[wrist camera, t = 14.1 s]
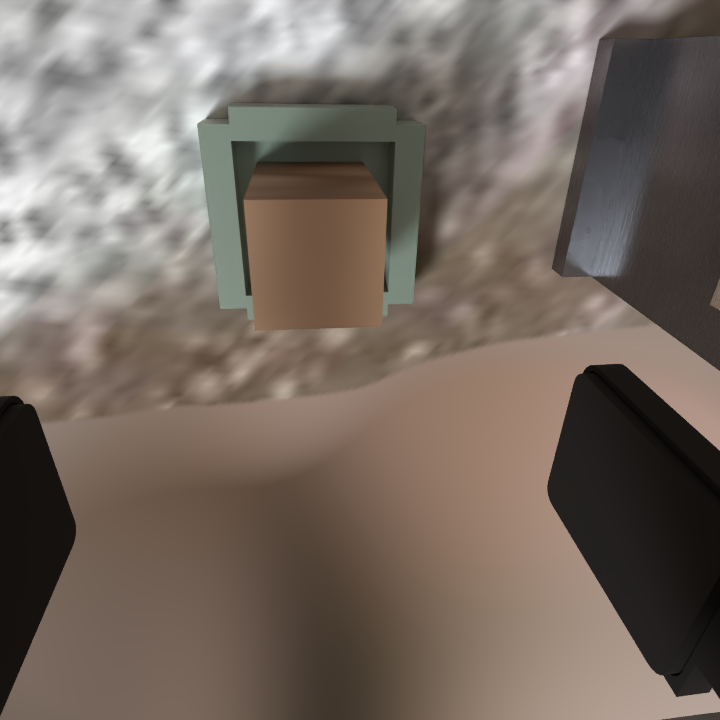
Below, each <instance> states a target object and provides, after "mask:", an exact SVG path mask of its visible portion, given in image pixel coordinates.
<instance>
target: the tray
mask: <svg viewBox="0 0 720 720" xmlns="http://www.w3.org/2000/svg"><path fill="white" fill-rule="evenodd" d="M228 117H229V119H204V120H202V121H201V122H199V123H198V124H197V127H198V135H199V143H200V151H201V159H202V167H203V175H204V183H205V191H206V199H207V207H208V215H209V223H210V231H211V239H212V247H213V255H214V263H215V271H216V279H217V287H218V295H219V303H220V309H233V308H247V313H248V320H254V312H253V301H252V290H251V279H250V268H249V257H248V245H247V234H246V223H245V212H244V201H243V200H244V197H245V194H246V191H247V189H248V186H249V183H250V180H251V178H252V175H253V172H254V169H255V167H256V164H257V162H363V163H364V164H365V166H366V167H367V169H368V170H369V172H370V173H371V175H372V176H373V178H374V179H375V181H376V182H377V184H378V185H379V187H380V188H381V190H382V191H383V193H384V194H385V196H386V197H387V223H386V246H385V269H384V292H383V315H382V316H387V310H388V304H413V296H414V282H415V268H416V255H417V241H418V228H419V214H420V200H421V187H422V173H423V160H424V146H425V132H426V125H424V124H422V123H420V122H418V121H401V120H397V108H394V107H392V106H390V105H355V104H270V103H232V104H231V105H230V106H228Z"/></svg>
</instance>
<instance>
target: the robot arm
mask: <svg viewBox="0 0 720 720" xmlns="http://www.w3.org/2000/svg"><path fill="white" fill-rule="evenodd" d="M547 487H548V496H549V499H550V502H551V504H552V506H553V507H554V509H555V510H556V512H557V514H558V515H559V517H560V519H561V520H562V522H563V524H564V525H565V527H566V529H567V530H568V532H569V533H570V535H571V537H572V539H573V540H574V542H575V543H576V545H577V547H578V549H579V550H580V552H581V554H582V555H583V557H584V558H585V560H586V562H587V563H588V565H589V567H590V568H591V570H592V572H593V573H594V575H595V577H596V578H597V580H598V582H599V583H600V585H601V587H602V588H603V590H604V592H605V593H606V595H607V597H608V598H609V600H610V602H611V603H612V605H613V607H614V608H615V610H616V611H617V613H618V615H619V616H620V618H621V620H622V621H623V623H624V625H625V626H626V628H627V630H628V631H629V633H630V635H631V636H632V638H633V640H634V641H635V643H636V645H637V646H638V648H639V650H640V651H641V653H642V654H643V656H644V658H645V660H646V661H647V663H648V664H649V666H650V667H651V668H652V670H654V671H655V672H656V673H657V674H659V675H663V676H664V677H665V679H666V681H667V682H668V684H669V685H670V687H671V688H672V690H673V692H674V694H675V695H676V697H679V696H686V695H693V694H701V693H708V692H710V690H711V688H713V690H714V691H715V692H716V694H717V695H718V697H719V698H720V451H719V450H718V449H717V448H716V447H715V446H713V444H711V443H710V442H709V441H708V440H707V439H706V438H705V437H704V436H703V435H701V434H700V433H699V432H698V431H697V430H696V429H695V428H694V427H693V426H691V425H690V424H689V423H688V422H687V421H686V420H685V419H684V418H683V417H681V416H680V415H679V414H678V413H677V412H676V411H675V410H674V409H673V408H671V407H670V406H669V405H668V404H667V403H666V402H665V401H664V400H663V399H661V398H660V397H659V396H658V395H657V394H656V393H655V392H653V390H651V389H650V388H649V387H648V386H647V385H646V384H645V383H644V382H643V381H641V380H640V379H639V378H638V377H637V376H636V375H635V374H634V373H632V372H631V371H630V370H629V369H628V368H627V367H626V366H624V365H622V364H607V365H590V366H588V367H587V368H586V369H585V370H584V372H583V374H579V375H578V376H577V377H576V378H575V381H574V385H573V388H572V392H571V396H570V400H569V404H568V407H567V411H566V415H565V419H564V423H563V427H562V431H561V434H560V438H559V442H558V446H557V450H556V453H555V457H554V461H553V465H552V469H551V473H550V476H549V480H548V486H547ZM75 536H76V525H75V520H74V518H73V514H72V512H71V509H70V506H69V503H68V501H67V497H66V495H65V492H64V489H63V486H62V483H61V480H60V478H59V475H58V472H57V469H56V467H55V463H54V461H53V458H52V455H51V452H50V450H49V446H48V444H47V441H46V438H45V435H44V432H43V429H42V426H41V424H40V421H39V418H38V415H37V412H36V410H35V408H34V407H33V406H32V405H30V404H24V403H23V401H22V400H21V399H20V398H19V397H17V396H1V397H0V715H1V713H2V711H3V708H4V706H5V703H6V701H7V699H8V696H9V694H10V692H11V689H12V687H13V685H14V682H15V680H16V678H17V675H18V673H19V671H20V668H21V666H22V664H23V661H24V659H25V657H26V654H27V652H28V650H29V647H30V645H31V643H32V640H33V638H34V636H35V633H36V631H37V629H38V626H39V624H40V622H41V619H42V617H43V614H44V612H45V610H46V607H47V605H48V603H49V600H50V598H51V596H52V593H53V591H54V589H55V586H56V584H57V582H58V579H59V577H60V575H61V572H62V570H63V568H64V565H65V563H66V560H67V558H68V556H69V554H70V551H71V549H72V546H73V544H74V541H75ZM663 720H720V712H717V713H708V714H701V715H693V716H685V717H678V718H671V719H663Z"/></svg>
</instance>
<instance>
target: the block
mask: <svg viewBox="0 0 720 720" xmlns="http://www.w3.org/2000/svg"><path fill="white" fill-rule="evenodd" d="M243 201H244V212H245V223H246V234H247V245H248V257H249V268H250V279H251V290H252V301H253V312H254V323H255V331H256V330H288V329H320V328H352V327H382V315H383V292H384V269H385V246H386V223H387V197H386V196H385V194H384V193H383V191H382V190H381V188H380V187H379V185H378V184H377V182H376V181H375V179H374V178H373V176H372V175H371V173H370V172H369V170H368V169H367V167H366V166H365V164H364V163H363V162H257V164H256V167H255V169H254V172H253V175H252V178H251V180H250V183H249V186H248V189H247V191H246V194H245V197H244V200H243Z"/></svg>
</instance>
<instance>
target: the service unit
mask: <svg viewBox="0 0 720 720" xmlns="http://www.w3.org/2000/svg"><path fill="white" fill-rule="evenodd" d="M552 269H553V270H554V271H555V272H557V273H558V274H559V275H560V276H562V277H584V276H591V277H593V278H594V279H595V280H597V281H598V282H600V283H601V284H602V285H604V286H605V287H606V288H608V289H609V290H610V291H612V292H613V293H614V294H616V295H617V296H619V297H620V298H621V299H623V300H624V301H625V302H627V303H628V304H629V305H631V306H632V307H634V308H635V309H636V310H638V311H639V312H640V313H642V314H643V315H644V316H646V317H647V318H649V319H650V320H651V321H653V322H654V323H655V324H657V325H658V326H659V327H661V328H662V329H663V330H665V331H666V332H668V333H669V334H670V335H672V336H673V337H674V338H676V339H677V340H679V341H680V342H681V343H683V344H684V345H685V346H687V347H688V348H689V349H691V350H692V351H693V352H695V353H696V354H697V355H699V356H700V357H702V358H703V359H704V360H706V361H707V362H709V363H710V364H711V365H712V366H714V367H715V368H717V369H718V370H719V371H720V36H704V37H686V38H667V39H600V40H599V44H598V49H597V54H596V59H595V64H594V68H593V73H592V78H591V83H590V88H589V92H588V97H587V102H586V107H585V112H584V117H583V121H582V126H581V131H580V136H579V141H578V145H577V150H576V155H575V160H574V165H573V169H572V174H571V179H570V184H569V189H568V193H567V198H566V203H565V208H564V213H563V217H562V222H561V227H560V232H559V237H558V241H557V246H556V251H555V256H554V261H553V265H552Z"/></svg>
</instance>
